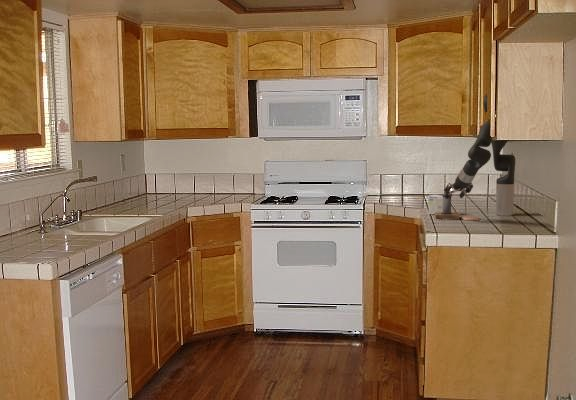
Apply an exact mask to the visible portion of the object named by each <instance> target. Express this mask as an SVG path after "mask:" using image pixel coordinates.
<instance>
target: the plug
mask: <svg viewBox="0 0 576 400" xmlns="http://www.w3.org/2000/svg"><path fill="white" fill-rule="evenodd" d="M441 195H442V196H443V214H451V212H452V197H453V193H452V194H450V196H449V198H448V199H446V198H445V192H444V193H442V194H441Z"/></svg>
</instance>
